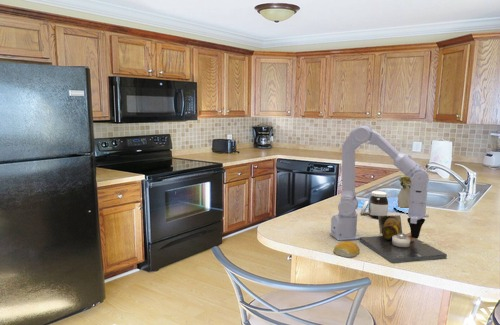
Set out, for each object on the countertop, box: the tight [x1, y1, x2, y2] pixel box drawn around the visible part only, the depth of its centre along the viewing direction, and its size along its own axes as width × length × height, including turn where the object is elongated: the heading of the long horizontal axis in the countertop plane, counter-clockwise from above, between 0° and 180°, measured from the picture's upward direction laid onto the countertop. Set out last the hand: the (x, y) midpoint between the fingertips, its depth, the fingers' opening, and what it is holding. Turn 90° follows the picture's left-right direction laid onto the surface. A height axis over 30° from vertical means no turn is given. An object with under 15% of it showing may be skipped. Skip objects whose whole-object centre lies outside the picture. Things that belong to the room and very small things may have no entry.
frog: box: [397, 174, 411, 213], centre depth 187 cm, size 12×13×18 cm
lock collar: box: [392, 231, 415, 247], centre depth 137 cm, size 12×6×2 cm, turn 131°
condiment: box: [378, 214, 403, 240], centre depth 144 cm, size 7×8×12 cm
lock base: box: [358, 232, 448, 264], centre depth 135 cm, size 21×21×6 cm
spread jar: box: [360, 190, 389, 219], centre depth 177 cm, size 12×11×12 cm
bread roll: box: [333, 240, 360, 258], centre depth 131 cm, size 8×9×4 cm
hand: (414, 237), depth 137 cm, fingers closed, pressing on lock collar
